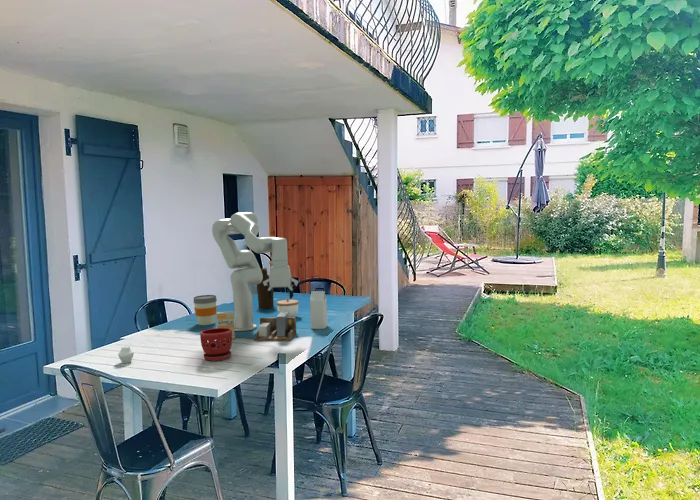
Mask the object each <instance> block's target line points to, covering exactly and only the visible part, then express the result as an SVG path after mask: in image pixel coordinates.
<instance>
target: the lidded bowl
mask: <svg viewBox="0 0 700 500" xmlns="http://www.w3.org/2000/svg"><path fill="white" fill-rule="evenodd" d="M299 303H300V302H299V300H297V299H290V297H287V298H286V299H282V300H278V301H276V310H277V313H278V314H279V313H281V312H289V317H296V315H297V314H298V312H299V308H300V307H299Z"/></svg>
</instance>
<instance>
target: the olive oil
mask: <svg viewBox="0 0 700 500" xmlns="http://www.w3.org/2000/svg"><path fill="white" fill-rule="evenodd" d="M261 271H262V275H263V279H262V282H261V283H259V284H257V285H256V291H257V304H258V309H271V308H274V305H275V304H274V303H275V301H274V297H273V298H272V299H270V297H269V291H268V289H267V288H265V286H264V284H263V282H264V281H265V280H267V279H269V277H270V274H268V270H267V267H263V268H261ZM267 285H268V286H269V287H270V285H269V282H267ZM272 290H273V291H274V287H273V288H272Z"/></svg>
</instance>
